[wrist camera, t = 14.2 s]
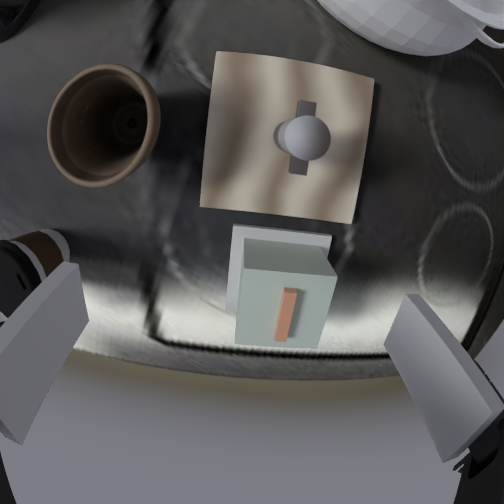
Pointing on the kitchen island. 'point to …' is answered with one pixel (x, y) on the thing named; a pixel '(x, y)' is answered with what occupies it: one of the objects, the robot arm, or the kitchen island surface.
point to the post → (285, 137)
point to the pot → (420, 23)
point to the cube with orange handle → (282, 294)
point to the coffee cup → (28, 265)
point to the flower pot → (103, 125)
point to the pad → (264, 234)
